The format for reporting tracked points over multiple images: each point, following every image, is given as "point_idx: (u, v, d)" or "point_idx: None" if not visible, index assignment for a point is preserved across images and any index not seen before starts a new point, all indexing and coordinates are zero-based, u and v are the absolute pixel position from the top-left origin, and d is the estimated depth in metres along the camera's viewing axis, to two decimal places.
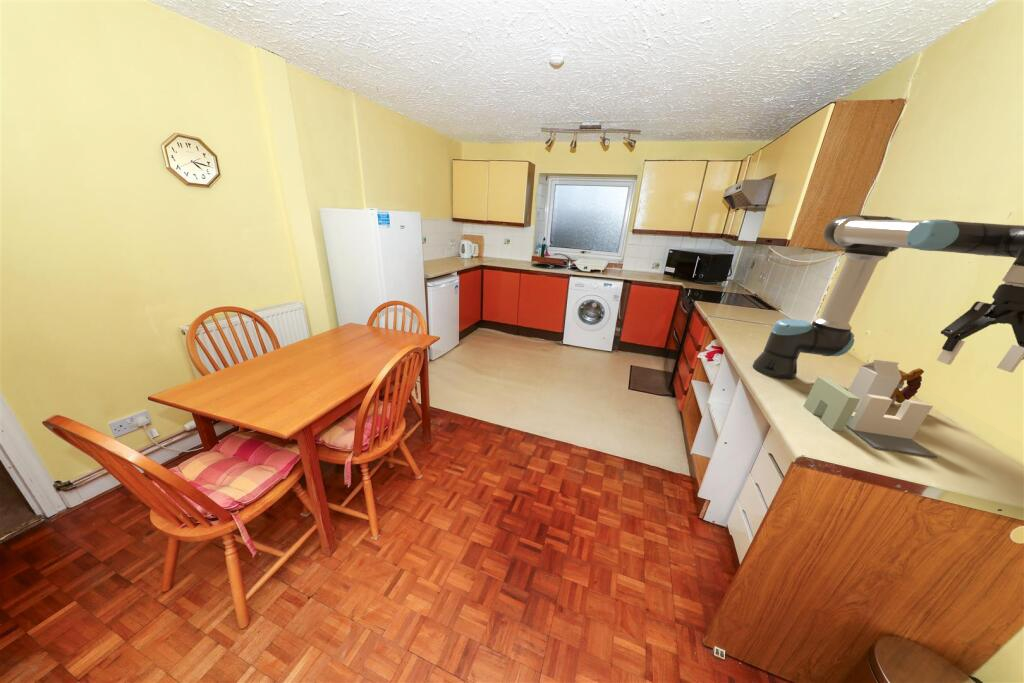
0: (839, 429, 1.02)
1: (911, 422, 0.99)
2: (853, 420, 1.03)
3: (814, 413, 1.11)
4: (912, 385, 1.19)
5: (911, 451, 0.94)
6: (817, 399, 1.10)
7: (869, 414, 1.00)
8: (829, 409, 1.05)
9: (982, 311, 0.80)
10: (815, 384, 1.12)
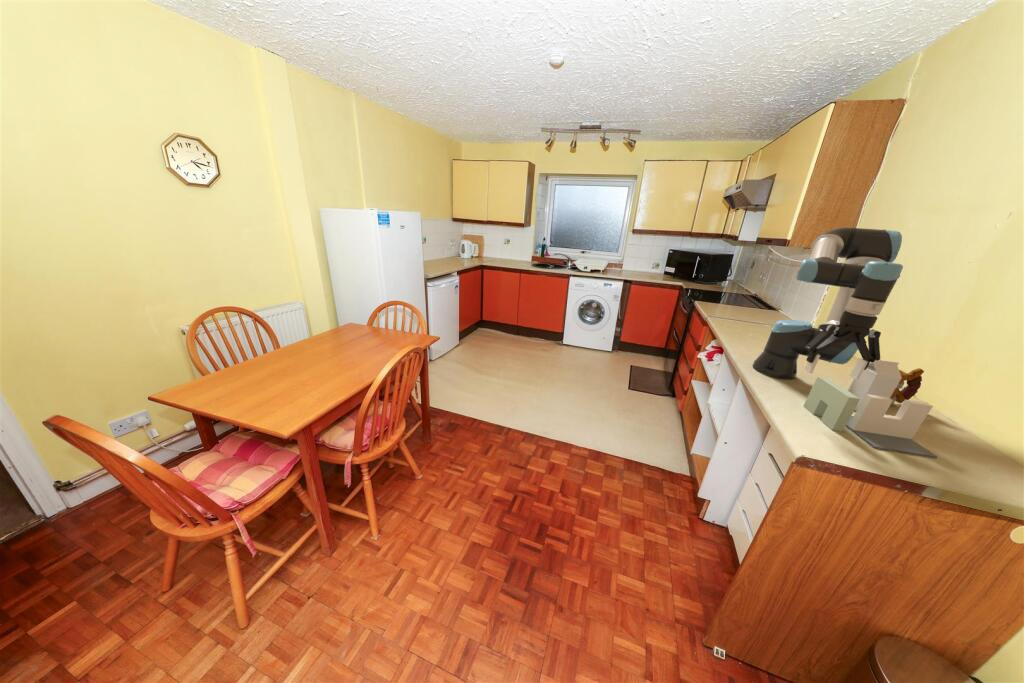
0: (839, 429, 1.02)
1: (911, 422, 0.99)
2: (853, 420, 1.03)
3: (814, 413, 1.11)
4: (912, 385, 1.19)
5: (911, 451, 0.94)
6: (817, 399, 1.10)
7: (869, 414, 1.00)
8: (829, 409, 1.05)
9: (829, 332, 1.02)
10: (815, 384, 1.12)
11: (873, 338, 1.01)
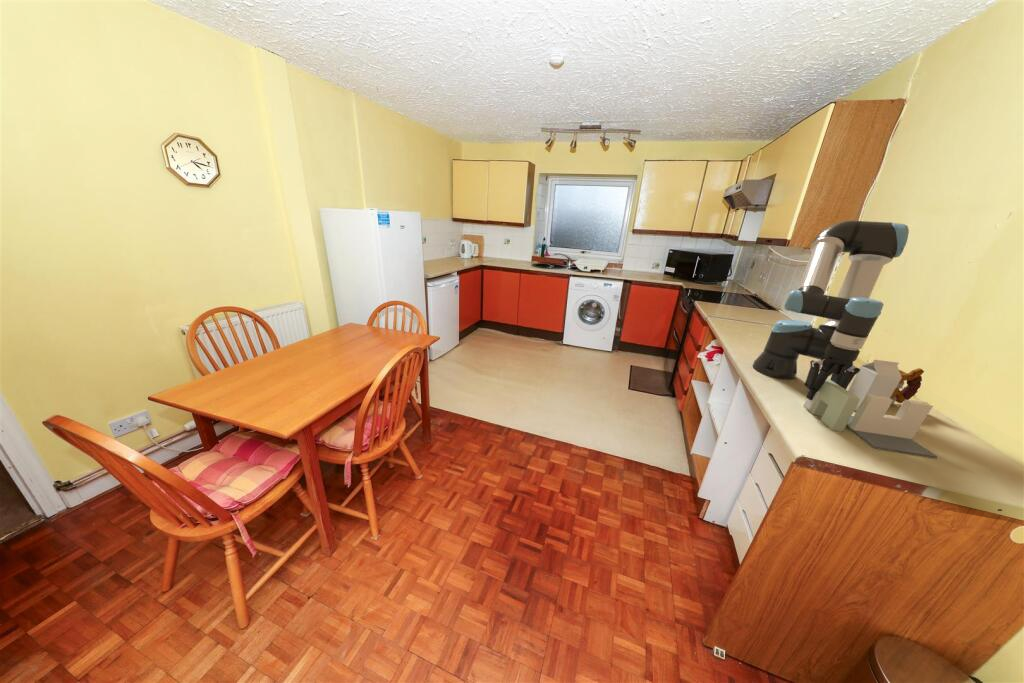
0: (839, 429, 1.02)
1: (911, 422, 0.99)
2: (853, 420, 1.03)
3: (814, 413, 1.11)
4: (912, 385, 1.19)
5: (911, 451, 0.94)
6: (817, 399, 1.10)
7: (869, 414, 1.00)
8: (829, 409, 1.05)
9: (816, 369, 1.07)
10: None
11: (850, 372, 1.06)
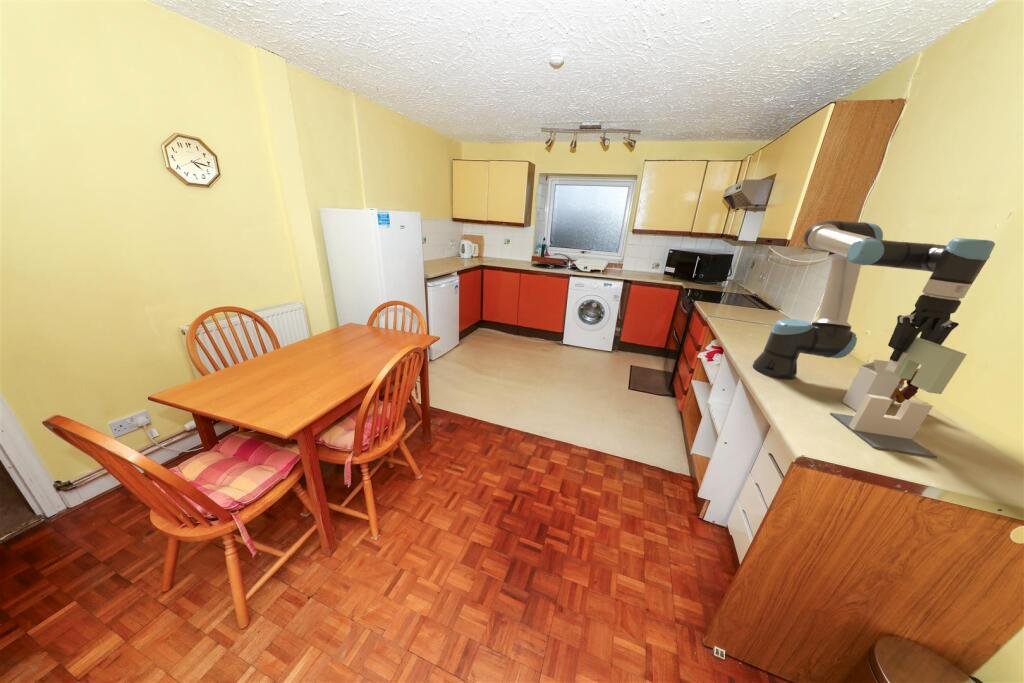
0: (937, 391, 0.89)
1: (911, 422, 0.99)
2: (853, 420, 1.03)
3: (900, 376, 0.97)
4: (912, 385, 1.19)
5: (911, 451, 0.94)
6: (905, 360, 0.96)
7: (869, 414, 1.00)
8: (923, 369, 0.91)
9: (905, 324, 0.93)
10: None
11: (946, 328, 0.92)
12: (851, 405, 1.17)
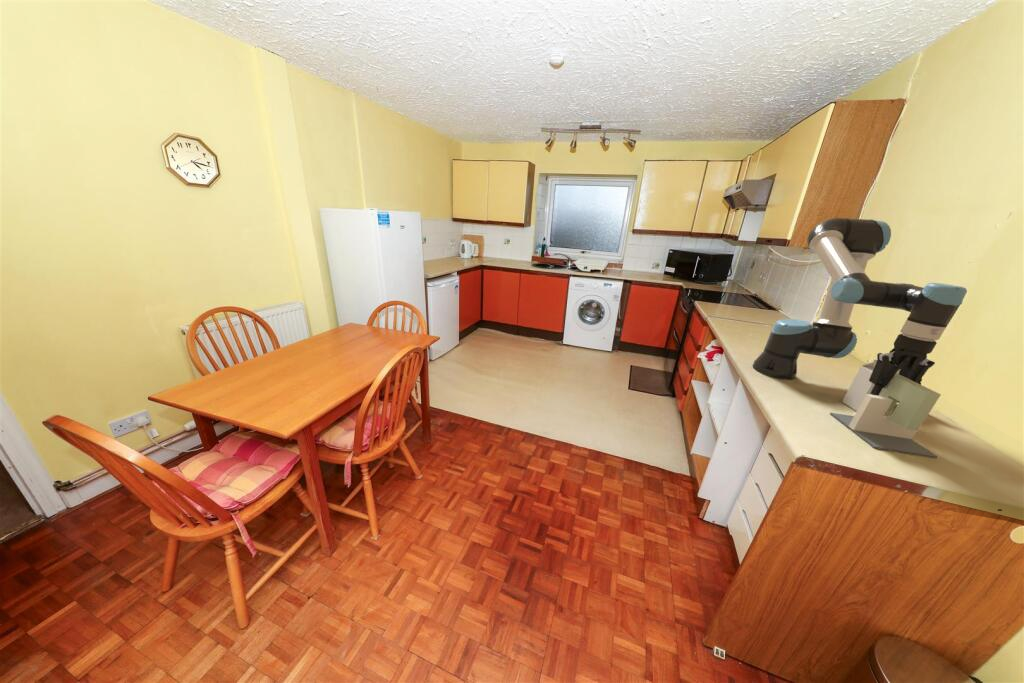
0: (914, 428, 0.93)
1: None
2: (853, 420, 1.03)
3: None
4: None
5: (911, 451, 0.94)
6: (885, 396, 1.01)
7: (869, 414, 1.00)
8: (901, 406, 0.96)
9: (885, 362, 0.98)
10: None
11: (923, 366, 0.97)
12: (851, 405, 1.17)
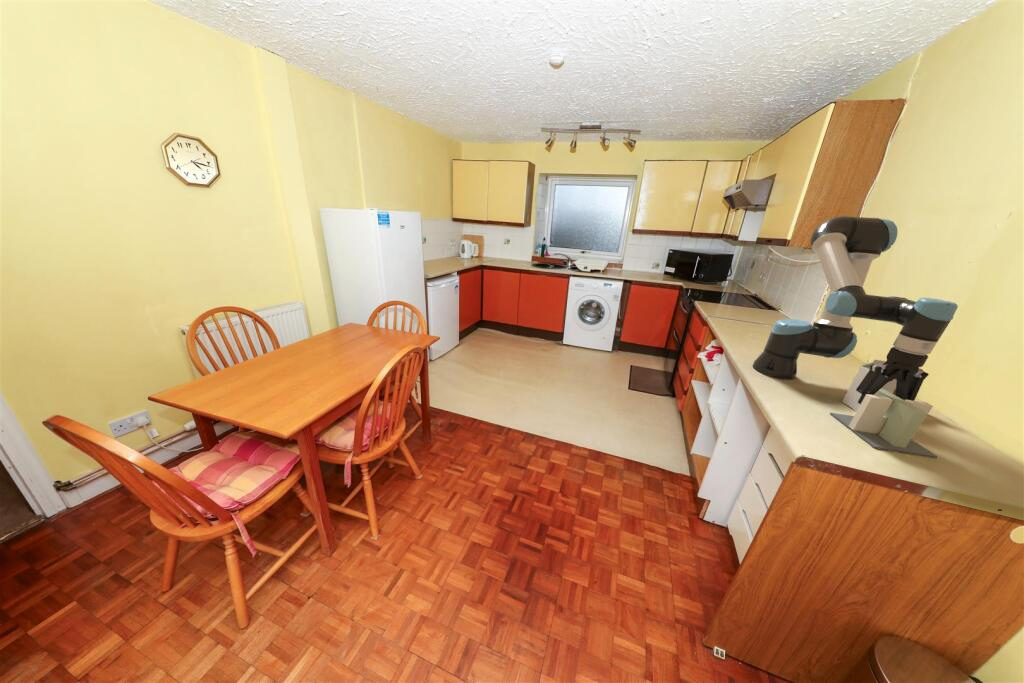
0: (902, 445, 0.96)
1: None
2: (853, 420, 1.03)
3: None
4: None
5: (911, 451, 0.94)
6: None
7: (869, 414, 1.00)
8: (890, 423, 0.98)
9: (876, 373, 0.99)
10: None
11: (918, 378, 0.98)
12: (851, 405, 1.17)
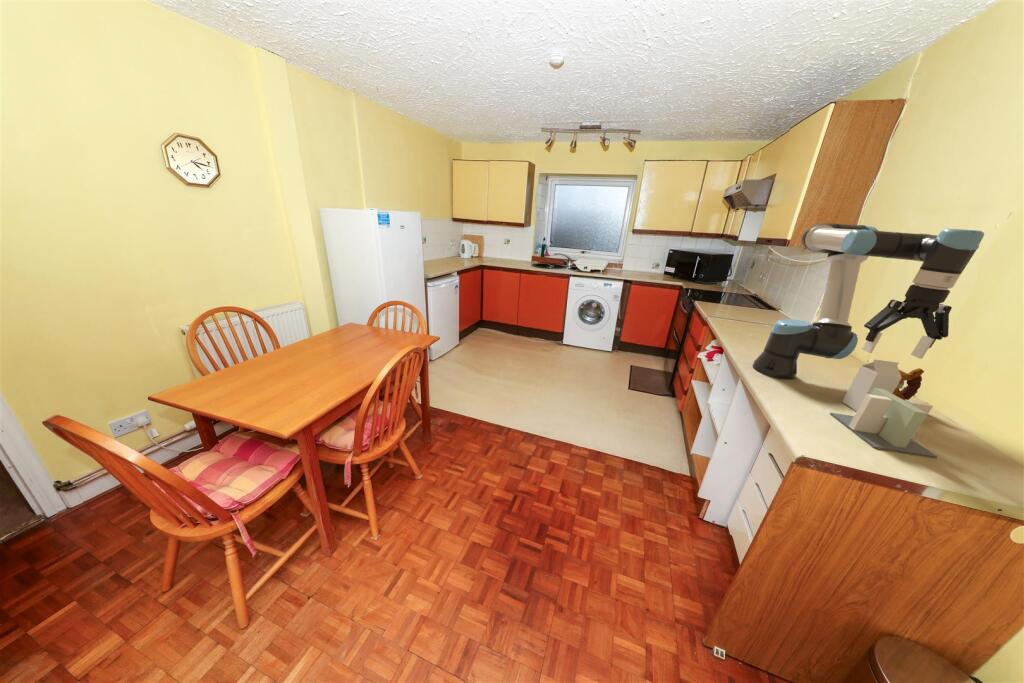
0: (902, 445, 0.96)
1: None
2: (853, 420, 1.03)
3: None
4: (912, 385, 1.19)
5: (911, 451, 0.94)
6: None
7: (869, 414, 1.00)
8: (890, 423, 0.98)
9: (894, 308, 0.95)
10: None
11: (942, 313, 0.94)
12: (851, 405, 1.17)
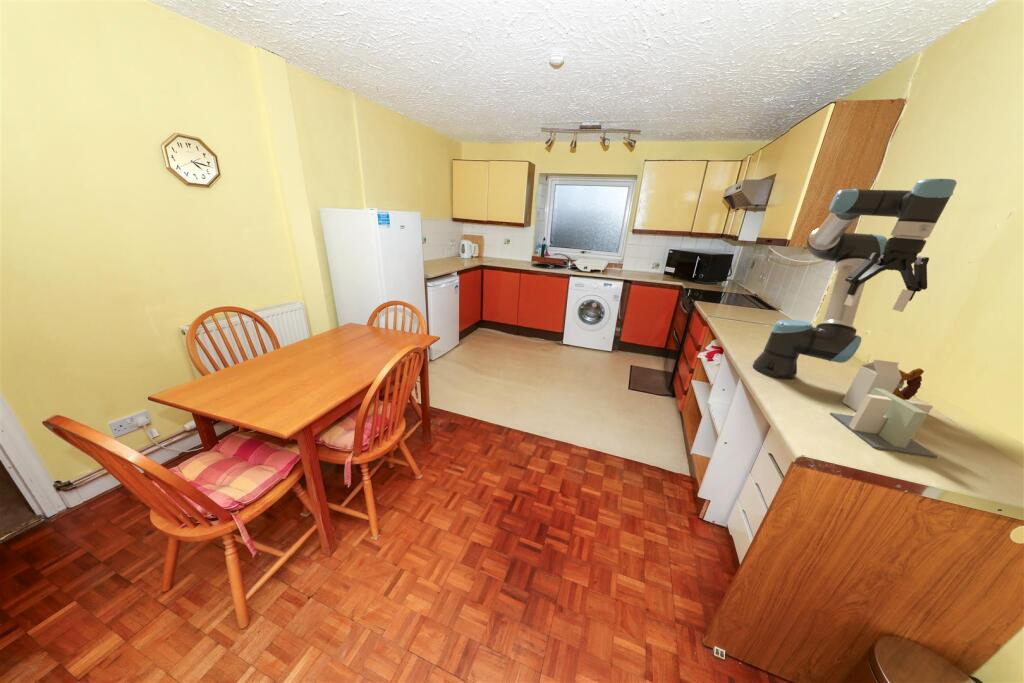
0: (902, 445, 0.96)
1: None
2: (853, 420, 1.03)
3: None
4: (912, 385, 1.19)
5: (911, 451, 0.94)
6: None
7: (869, 414, 1.00)
8: (890, 423, 0.98)
9: (873, 259, 0.97)
10: None
11: (920, 265, 0.96)
12: (851, 405, 1.17)
